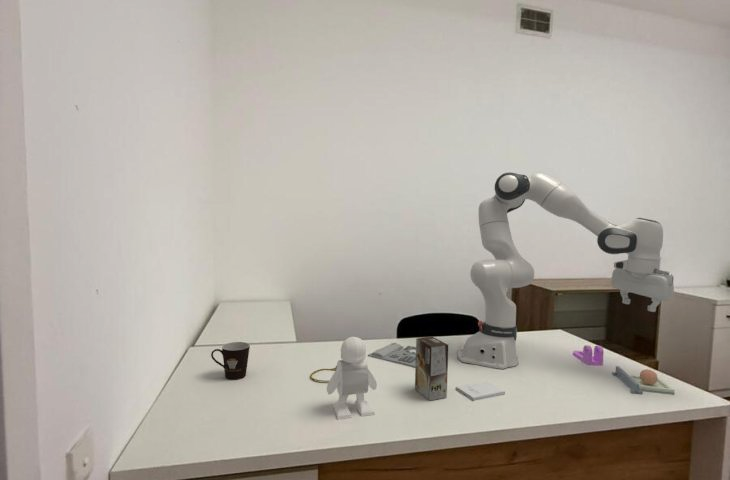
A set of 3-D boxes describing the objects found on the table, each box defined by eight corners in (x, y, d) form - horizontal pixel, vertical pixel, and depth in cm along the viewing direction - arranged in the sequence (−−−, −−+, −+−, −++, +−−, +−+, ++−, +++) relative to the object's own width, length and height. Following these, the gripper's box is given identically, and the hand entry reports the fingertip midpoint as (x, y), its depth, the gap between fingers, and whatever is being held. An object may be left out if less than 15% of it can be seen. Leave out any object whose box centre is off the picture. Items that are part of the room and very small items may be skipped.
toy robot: (330, 420, 99) (332, 344, 98) (323, 404, 107) (325, 334, 107) (381, 413, 103) (383, 340, 102) (370, 399, 112) (372, 331, 111)
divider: (631, 392, 121) (632, 383, 121) (612, 374, 136) (612, 365, 136) (642, 394, 120) (642, 384, 120) (621, 375, 136) (622, 366, 136)
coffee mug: (254, 374, 127) (255, 344, 127) (236, 383, 119) (236, 352, 119) (228, 367, 132) (228, 339, 132) (208, 376, 124) (209, 346, 124)
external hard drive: (505, 395, 117) (472, 402, 112) (486, 385, 125) (455, 391, 120) (505, 390, 117) (473, 397, 112) (486, 380, 125) (455, 385, 120)
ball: (641, 385, 126) (641, 370, 126) (637, 380, 130) (638, 366, 130) (659, 387, 124) (659, 373, 124) (655, 382, 128) (655, 368, 128)
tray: (638, 390, 123) (638, 386, 123) (625, 378, 133) (625, 374, 133) (674, 394, 121) (674, 390, 121) (658, 382, 130) (658, 378, 130)
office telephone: (367, 351, 147) (392, 339, 164) (367, 358, 148) (391, 345, 164) (423, 364, 135) (443, 349, 152) (423, 371, 135) (443, 355, 152)
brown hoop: (361, 380, 126) (361, 374, 126) (315, 387, 120) (315, 380, 120) (348, 367, 137) (348, 361, 137) (305, 372, 131) (305, 367, 131)
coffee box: (447, 397, 114) (450, 344, 113) (429, 401, 111) (431, 346, 111) (430, 385, 122) (432, 335, 122) (413, 388, 120) (415, 337, 119)
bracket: (602, 365, 145) (603, 347, 145) (587, 365, 145) (588, 347, 145) (583, 354, 158) (584, 337, 158) (570, 353, 158) (571, 337, 158)
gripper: (682, 272, 118) (676, 316, 120) (624, 262, 138) (620, 299, 139) (665, 272, 117) (660, 316, 118) (609, 262, 137) (605, 300, 138)
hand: (638, 307), depth 129 cm, fingers open, 8 cm apart
